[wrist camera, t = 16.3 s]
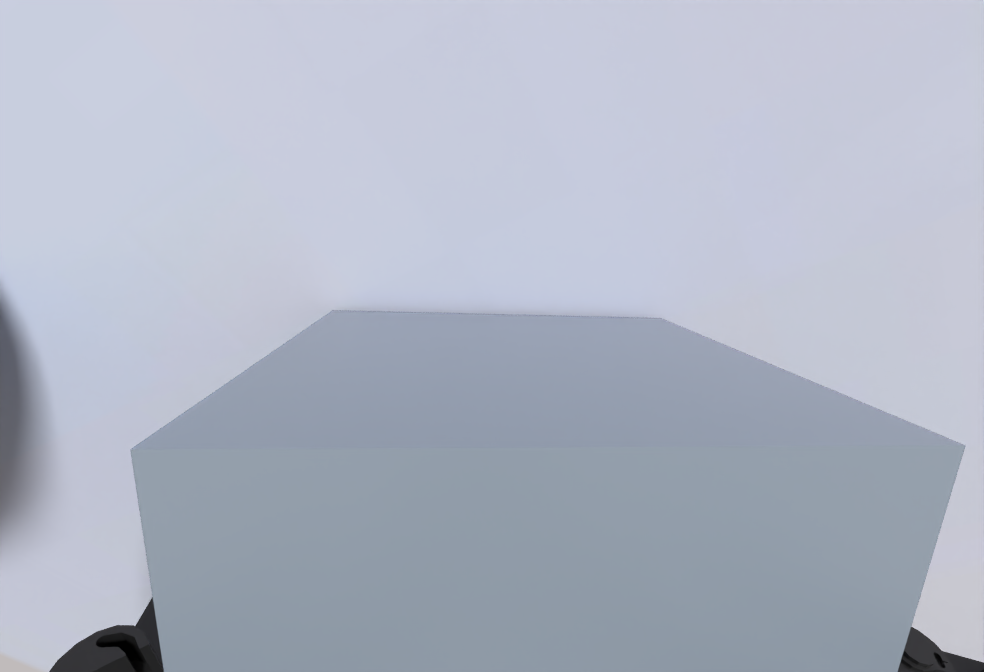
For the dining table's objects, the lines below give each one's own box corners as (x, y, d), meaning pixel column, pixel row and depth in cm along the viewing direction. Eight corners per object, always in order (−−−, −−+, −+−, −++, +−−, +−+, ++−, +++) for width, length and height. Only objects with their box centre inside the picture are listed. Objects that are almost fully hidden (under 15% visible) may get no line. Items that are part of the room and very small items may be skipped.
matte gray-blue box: (627, 588, 17) (810, 961, 8) (343, 599, 16) (218, 1035, 7) (661, 318, 14) (964, 445, 6) (332, 310, 13) (129, 449, 5)
